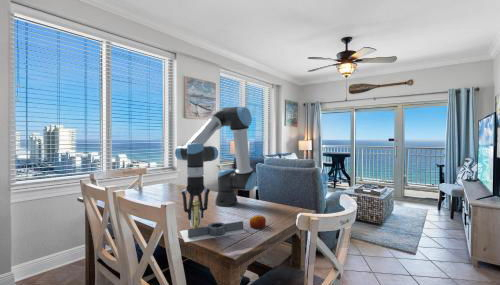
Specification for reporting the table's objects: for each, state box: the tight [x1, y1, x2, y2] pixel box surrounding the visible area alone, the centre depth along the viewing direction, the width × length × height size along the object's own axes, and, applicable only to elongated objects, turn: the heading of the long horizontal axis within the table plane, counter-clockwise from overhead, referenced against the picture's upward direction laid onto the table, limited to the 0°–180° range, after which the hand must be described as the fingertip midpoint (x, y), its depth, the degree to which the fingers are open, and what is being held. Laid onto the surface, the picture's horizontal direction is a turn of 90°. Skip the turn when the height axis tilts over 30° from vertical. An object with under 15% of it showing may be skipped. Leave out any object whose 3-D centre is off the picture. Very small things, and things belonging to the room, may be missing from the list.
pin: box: [191, 199, 200, 229], centre depth 120 cm, size 4×4×13 cm
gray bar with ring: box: [187, 221, 244, 238], centre depth 116 cm, size 8×26×4 cm, turn 115°
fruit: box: [249, 214, 267, 230], centre depth 125 cm, size 8×8×8 cm
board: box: [179, 229, 247, 243], centre depth 118 cm, size 14×28×1 cm, turn 115°
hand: (195, 225), depth 120 cm, fingers closed on pin, 3 cm apart
